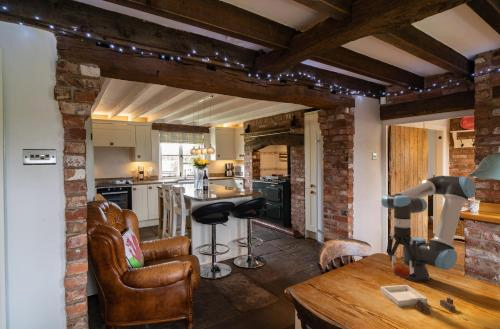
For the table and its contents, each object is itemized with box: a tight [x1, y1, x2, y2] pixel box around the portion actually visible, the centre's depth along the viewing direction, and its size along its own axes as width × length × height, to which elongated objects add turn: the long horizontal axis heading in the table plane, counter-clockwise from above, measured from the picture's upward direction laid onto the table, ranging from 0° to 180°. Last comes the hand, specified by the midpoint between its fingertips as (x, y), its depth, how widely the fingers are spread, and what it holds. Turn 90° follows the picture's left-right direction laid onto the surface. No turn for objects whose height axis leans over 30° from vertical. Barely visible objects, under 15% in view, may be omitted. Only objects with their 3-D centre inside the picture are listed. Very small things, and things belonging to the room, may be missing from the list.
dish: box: [380, 284, 428, 308], centre depth 143 cm, size 15×15×3 cm
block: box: [415, 297, 456, 315], centre depth 132 cm, size 16×6×4 cm, turn 97°
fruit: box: [393, 262, 410, 280], centre depth 142 cm, size 8×8×8 cm
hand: (402, 270), depth 143 cm, fingers closed on fruit, 8 cm apart
